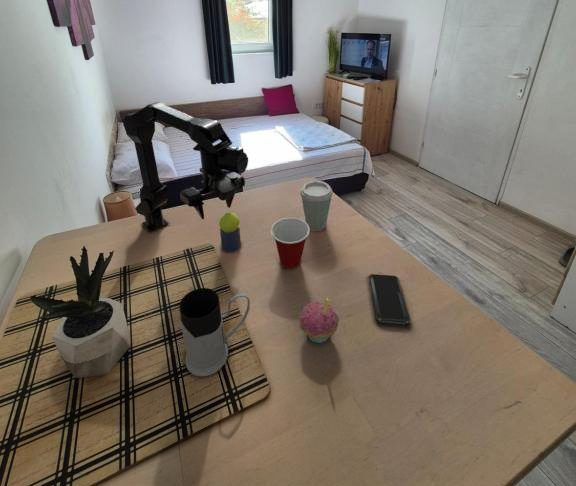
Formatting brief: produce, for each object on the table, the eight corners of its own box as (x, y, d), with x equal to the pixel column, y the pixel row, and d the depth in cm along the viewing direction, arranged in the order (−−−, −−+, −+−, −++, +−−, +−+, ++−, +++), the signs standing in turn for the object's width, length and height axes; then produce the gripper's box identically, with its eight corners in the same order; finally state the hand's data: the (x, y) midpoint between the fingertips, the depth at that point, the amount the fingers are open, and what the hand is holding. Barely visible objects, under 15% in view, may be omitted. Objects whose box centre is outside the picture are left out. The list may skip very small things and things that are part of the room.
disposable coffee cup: (332, 235, 106) (335, 195, 100) (299, 235, 106) (300, 195, 100) (329, 217, 116) (331, 179, 110) (299, 217, 116) (299, 179, 110)
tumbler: (218, 246, 101) (216, 227, 98) (233, 238, 105) (232, 219, 102) (229, 255, 97) (227, 235, 95) (244, 246, 101) (243, 227, 98)
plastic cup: (265, 269, 92) (264, 234, 87) (280, 246, 101) (280, 214, 96) (301, 280, 88) (302, 244, 83) (313, 255, 97) (314, 222, 92)
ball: (216, 230, 99) (214, 214, 96) (232, 222, 103) (231, 206, 100) (227, 239, 95) (226, 222, 93) (243, 231, 99) (242, 214, 96)
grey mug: (183, 345, 70) (173, 293, 64) (246, 323, 76) (242, 273, 70) (188, 383, 63) (178, 328, 57) (257, 356, 68) (255, 303, 62)
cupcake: (340, 324, 75) (343, 284, 71) (332, 357, 68) (335, 315, 63) (304, 314, 78) (305, 275, 73) (293, 344, 71) (294, 304, 66)
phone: (376, 320, 75) (368, 273, 89) (376, 323, 75) (368, 276, 89) (411, 323, 74) (398, 275, 88) (410, 326, 75) (397, 279, 88)
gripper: (197, 186, 80) (202, 238, 86) (255, 165, 92) (257, 212, 98) (175, 172, 87) (182, 220, 94) (232, 154, 99) (235, 198, 106)
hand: (216, 212), depth 98 cm, fingers open, 9 cm apart
